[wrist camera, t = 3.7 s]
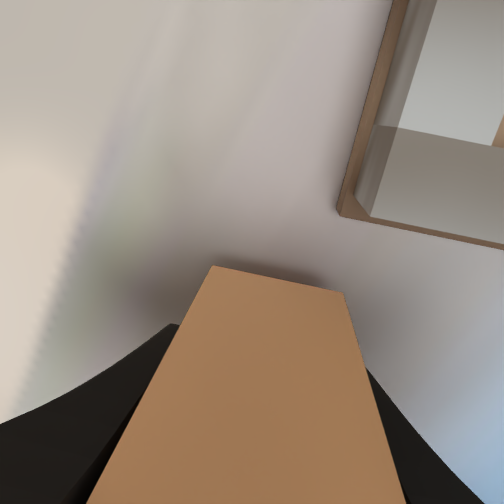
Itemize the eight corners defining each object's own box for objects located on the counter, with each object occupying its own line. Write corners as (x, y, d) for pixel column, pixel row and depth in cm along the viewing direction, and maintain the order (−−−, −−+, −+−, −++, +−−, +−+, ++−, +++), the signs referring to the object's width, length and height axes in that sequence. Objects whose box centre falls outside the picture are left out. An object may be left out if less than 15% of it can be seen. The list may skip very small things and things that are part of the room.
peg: (310, 397, 13) (341, 812, 5) (194, 372, 13) (57, 740, 5) (343, 292, 11) (449, 649, 4) (212, 264, 11) (58, 557, 4)
